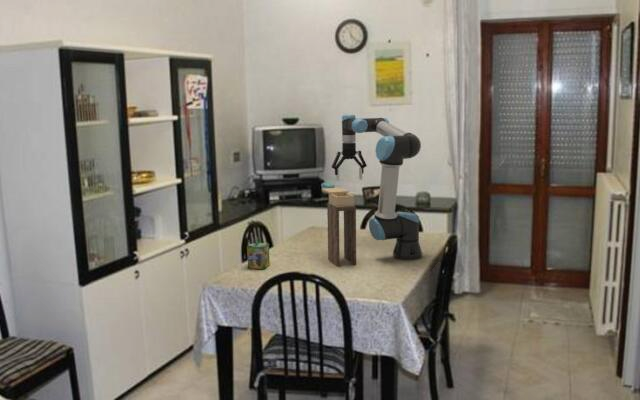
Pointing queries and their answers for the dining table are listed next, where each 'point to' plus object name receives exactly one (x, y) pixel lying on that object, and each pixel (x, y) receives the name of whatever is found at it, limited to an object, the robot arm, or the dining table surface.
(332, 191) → the mailer lid
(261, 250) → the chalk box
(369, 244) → the dining table surface
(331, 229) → the walnut stand
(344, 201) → the kraft mailer box
